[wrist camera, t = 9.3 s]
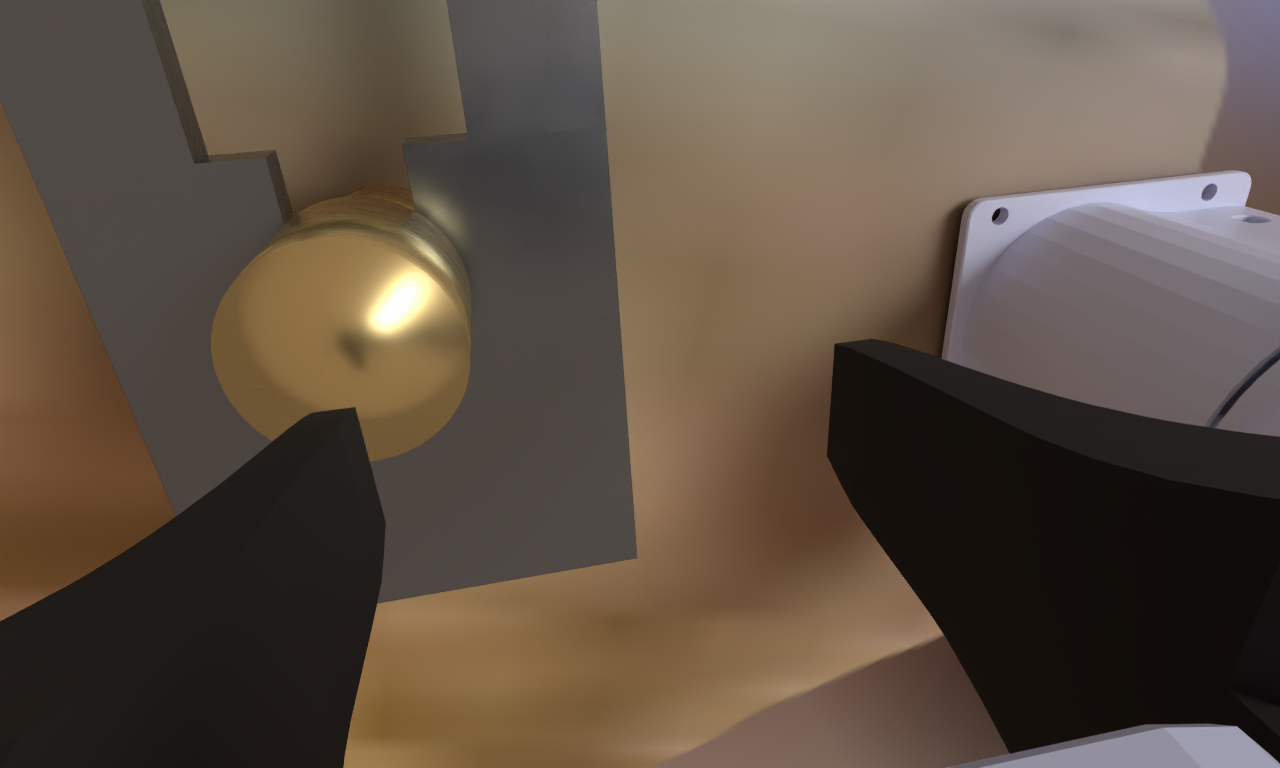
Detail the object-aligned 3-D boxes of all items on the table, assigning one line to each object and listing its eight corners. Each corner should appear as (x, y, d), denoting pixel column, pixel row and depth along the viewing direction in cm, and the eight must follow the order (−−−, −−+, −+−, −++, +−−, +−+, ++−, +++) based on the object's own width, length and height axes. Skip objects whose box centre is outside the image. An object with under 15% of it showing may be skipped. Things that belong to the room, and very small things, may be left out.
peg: (466, 159, 18) (462, 237, 12) (476, 316, 20) (477, 454, 14) (285, 158, 17) (183, 242, 11) (313, 322, 19) (238, 471, 13)
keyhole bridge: (529, -421, 14) (552, -606, 10) (607, 455, 24) (637, 557, 19) (-51, -433, 13) (-318, -653, 9) (273, 506, 22) (224, 630, 18)
